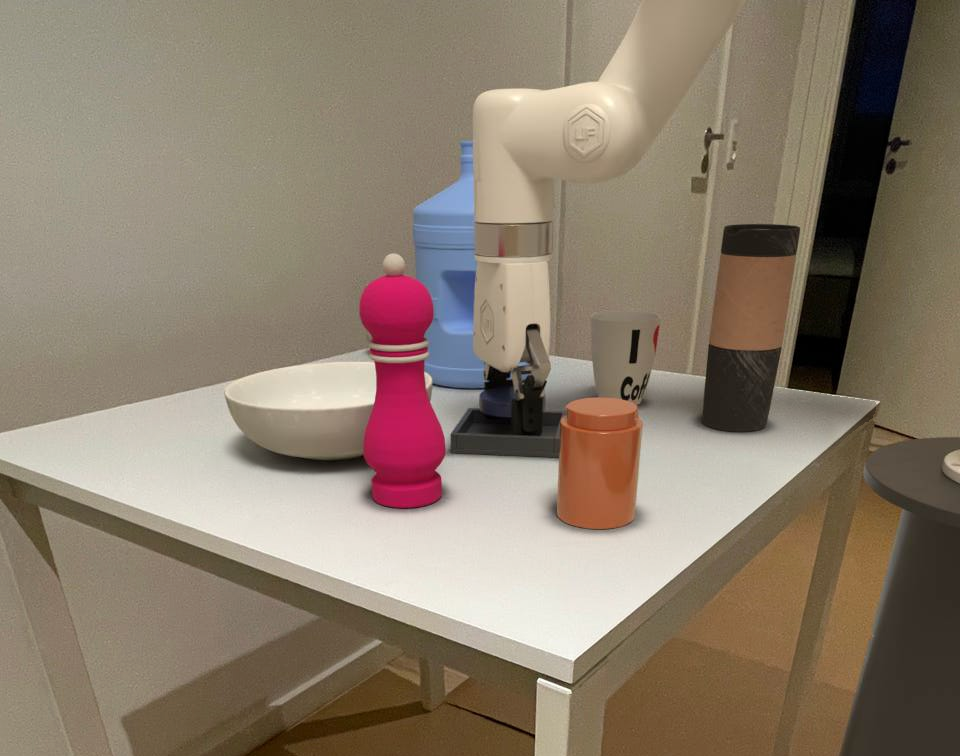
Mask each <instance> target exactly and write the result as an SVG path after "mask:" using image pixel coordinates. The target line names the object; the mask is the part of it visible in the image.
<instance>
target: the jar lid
mask: <svg viewBox="0 0 960 756" xmlns="http://www.w3.org/2000/svg"><path fill="white" fill-rule="evenodd" d="M515 398H516V397H515V391H514V386H502V387H495V388H490V389H487V390H484V389H483V390H482V391H481V392H480V393H479V398H478V402H479V403H478V404H479V409H480V410H481V412H483V413H484V414H487V415H491V416H495V417H508V418H511V410H512V399H515ZM545 409H546V395H545V396H544V398H543V411H545Z"/></svg>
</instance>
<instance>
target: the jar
mask: <svg viewBox="0 0 960 756" xmlns="http://www.w3.org/2000/svg"><path fill="white" fill-rule="evenodd" d="M565 410H566V412H567V415H566V416H564V417H563V418H561V420H560V442H559V458H558V468H557V469H558V471H557V473H558V474H557V497H556V498H557V499H556V516H557V517H558V519H559V520H561V521H562V522H563V523H566V524H568V525H569V526H574V527H577V528H581V529H587V530H589V529H590V530H609V529H617V528H622V527H624V526H626V525H629V524H631V523H632V522H633V521H634V519H635V518H636V506H637V495H638V484H639V475H640V474H639V473H640V463H641V462H640V460H641V450H642V439H643V427H644V422H643V420H642V419H641V418H640V417H639V414H640V413H639V412H638V410H639V407H638V405H636V404H634V403H632V402H629V401H626V400H622V399H616V398H600V397H585V398H579V399H574V400H573V401H570V402H569V403H567V404H566V405H565ZM565 410H564V411H565Z"/></svg>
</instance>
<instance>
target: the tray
mask: <svg viewBox="0 0 960 756" xmlns="http://www.w3.org/2000/svg"><path fill="white" fill-rule="evenodd" d="M566 415H567V410H566V411H565V410H564V411H562V410H560V411H559V410H544V411H543V414H542V434H541V436H527V435H511V418H502V419H493V420H488V419H486V418H485V414H484V413H483V412H481V410H480V407H479V408H476V407H475V408H473V407H469V408H467V409H466V411H465V412H464V414H463V416H462V417H461V419H460V420H459V421H458V423H457V424H456V426H454V429H453V430H452V431H451V432H450V453H451V454H464V455H485V456H486V455H489V456H514V457H532V458H533V457H535V458H536V457H537V458H556V459H557V458H558V459H559V442H560V420H561V418H563V417H564V416H566Z"/></svg>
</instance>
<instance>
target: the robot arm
mask: <svg viewBox="0 0 960 756" xmlns="http://www.w3.org/2000/svg"><path fill="white" fill-rule="evenodd" d="M746 2H747V0H641V2H640V4H639V6H638V9H637V11H636V13H635V15H634V18H633V20H632V21H631V24H630V25H629V28H628V30H627V32H626V33H625V35H624V37H623V38H622V40H621V43H620V44H619V46H618V47H617V49H616V51H615V52H614V54H613V56H612V57H611V59H610V60H609V62H608V64H607V66H606V67H605V69H604V71H603V72H602V74H601V76H600V77H599V78H598V80H597V81H587V82H582V83H581V82H580V83H577V84H576V83H575V84H572V85H568V86H567V85H566V86H563V87H556V88H552V89H539V88H496V89H490V90H486V91H484V92H482V93H480V94H478V96H477V97H476V99H475V101H474V103H473V106H472V141H473V182H474V249H475V261H478V262H477V269H476V278H475V291H474V319H473V351H474V354H475V355H476V356H477V357H478V358H479V359H480V360H482V361H483V362H484V364H485V365H484V371H483V377H484V380H485V381H489V382H484V388H483V391H484V390H487V389H490V388H495V387H502V386H514V391H515V397H516V398H515V399H512V410H511V435H527V436H541V434H542V414H543V398H544V396H545V397H546V391H545V387H546V385H547V383H548V380H547V379H548V377H549V374H550V372H551V369H552V365H551V361H550V351H551V294H550V293H551V291H550V289H551V288H550V275H549V264H548V263H549V261H552V260H553V250H554V249H553V247H554V245H553V244H554V212H555V211H554V208H555V207H554V206H555V180H560V181H567V182H572V183H579V184H599V183H603V182H608V181H611V180H615V179H616V180H617V179H618V178H621V177H623V176H625V175H626V174H628V173H630V172H631V171H632V170H633V169H634V168H635V167H636V166H637V165H638V164H639V163H640V162H641V160H642V159H643V158H644V156H645V155H646V154H647V152H648V151H649V150H650V148H651V146H652V145H653V143H654V142H655V141H656V139H657V137H658V136H659V135H660V133H661V132H662V130H663V129H664V127H665V126H666V125H667V123H668V121H669V120H670V118H671V117H672V116H673V114H674V113H675V111H676V110H677V108H678V106H679V105H680V104H681V102H682V101H683V99H684V98H685V96H686V94H687V93H688V91H689V90H690V88H691V86H692V85H693V83H694V82H695V81H696V79H697V77H698V76H699V74H700V72H701V71H702V70H703V68H704V66H705V65H706V63H707V61H708V60H709V58H710V57H711V55H712V53H713V52H714V50H715V49H716V48H717V46H718V45H719V44H720V42H721V41H722V39H723V38H724V37H725V35H726V34H727V32H728V31H729V29H730V28H731V27H732V26H733V23H734V22H735V21H736V19H737V17H738V16H739V14H740V12H741V11H742V9H743V7H744V5H745V3H746ZM519 362H526V363H528V364H530V365H527V366H518V364H519ZM511 374H512V379H510V380H507V379H509V378H510V375H511ZM525 374H530V375H528V376H527V378H526V379H525V380H524V381H522V377H521V375H525ZM485 418H486V419H488V420H493V419H502V418H508V417H495V416H491V415H487V414H485ZM942 471H943V472H944V474H945V475H946V476H947V477H949V478H950V479H951V480H953V481H955V482H957V483H959V484H960V450H956V451H953V452H951V453H949V454H948V455H947V456H945V458H944V461H943V465H942Z"/></svg>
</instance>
